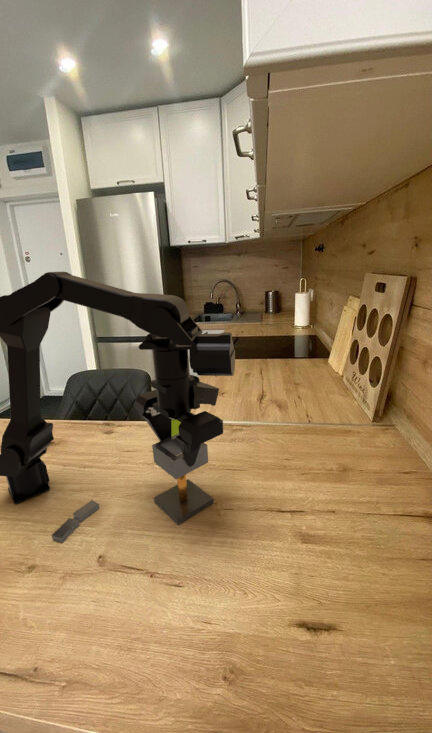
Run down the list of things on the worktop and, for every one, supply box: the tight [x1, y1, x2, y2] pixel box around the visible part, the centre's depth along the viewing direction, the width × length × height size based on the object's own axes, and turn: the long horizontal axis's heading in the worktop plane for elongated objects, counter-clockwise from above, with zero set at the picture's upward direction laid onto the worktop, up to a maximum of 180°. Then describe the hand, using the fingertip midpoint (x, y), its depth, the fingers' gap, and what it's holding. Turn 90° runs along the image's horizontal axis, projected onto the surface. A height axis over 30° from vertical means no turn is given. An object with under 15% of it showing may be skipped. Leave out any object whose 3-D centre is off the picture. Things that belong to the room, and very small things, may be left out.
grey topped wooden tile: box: [72, 499, 101, 523], centre depth 60 cm, size 4×2×1 cm, turn 147°
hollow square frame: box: [151, 434, 209, 480], centre depth 59 cm, size 7×7×4 cm
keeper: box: [153, 474, 215, 526], centre depth 61 cm, size 8×8×6 cm
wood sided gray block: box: [51, 517, 80, 544], centre depth 56 cm, size 4×2×1 cm, turn 160°
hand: (179, 456), depth 59 cm, fingers closed on hollow square frame, 7 cm apart
